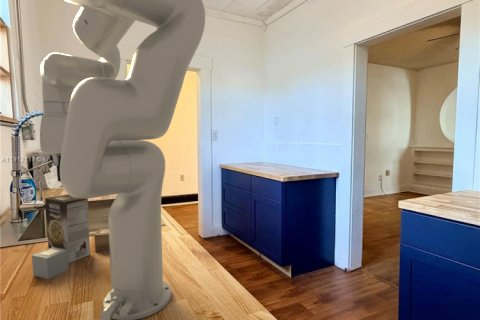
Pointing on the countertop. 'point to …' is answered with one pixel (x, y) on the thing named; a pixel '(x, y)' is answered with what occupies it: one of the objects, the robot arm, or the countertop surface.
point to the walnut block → (102, 240)
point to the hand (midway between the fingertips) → (65, 180)
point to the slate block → (50, 262)
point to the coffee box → (68, 225)
